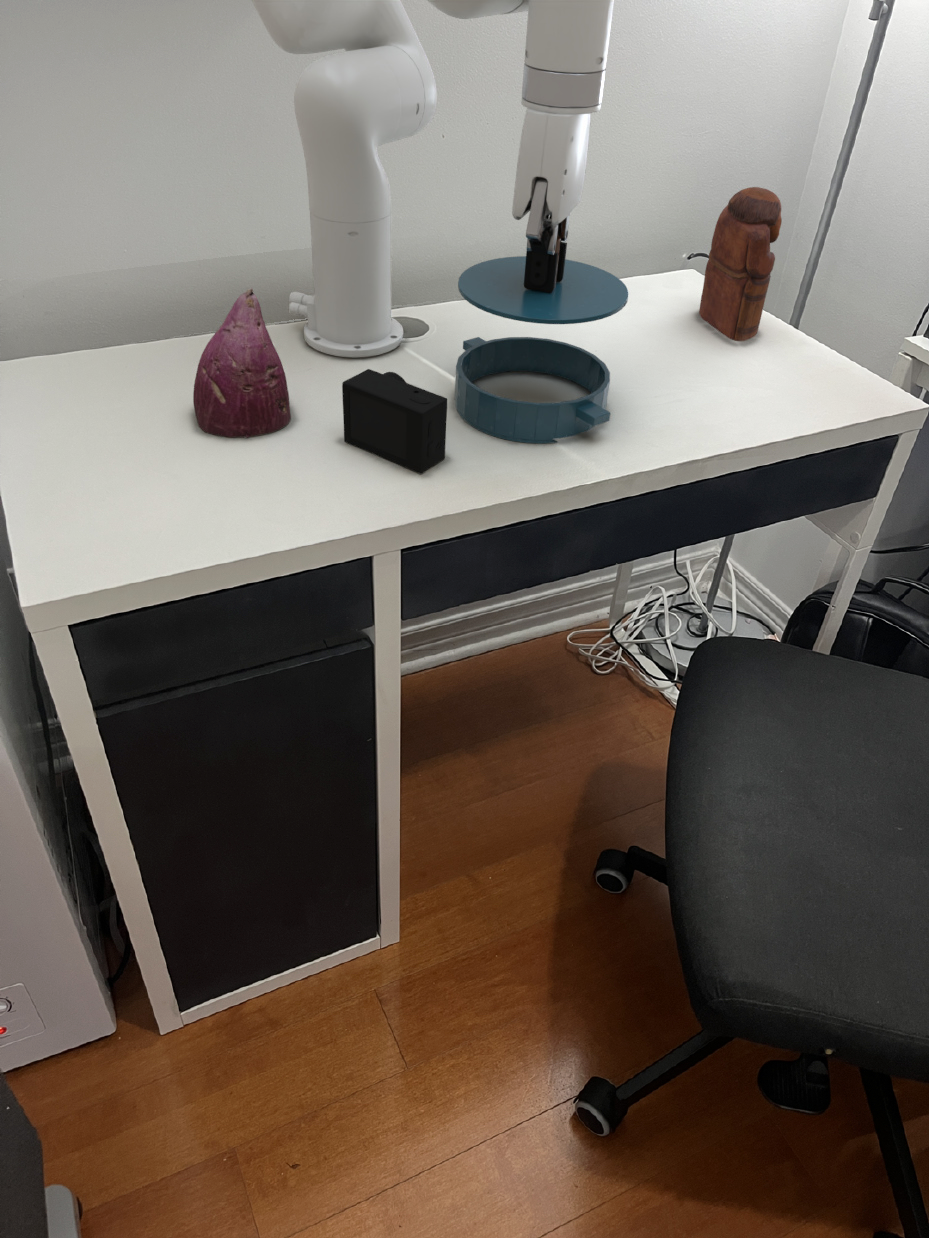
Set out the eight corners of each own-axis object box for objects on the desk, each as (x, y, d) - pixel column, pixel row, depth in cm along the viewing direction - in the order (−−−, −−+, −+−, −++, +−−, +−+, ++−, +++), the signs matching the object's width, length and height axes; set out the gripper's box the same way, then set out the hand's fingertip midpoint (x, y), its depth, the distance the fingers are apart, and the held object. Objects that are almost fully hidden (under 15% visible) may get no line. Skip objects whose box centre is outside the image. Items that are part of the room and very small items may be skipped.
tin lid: (534, 344, 91) (540, 281, 87) (424, 285, 101) (425, 226, 98) (662, 307, 100) (673, 248, 96) (548, 255, 110) (554, 200, 106)
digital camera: (453, 454, 100) (456, 393, 95) (421, 475, 96) (423, 413, 92) (376, 423, 104) (376, 363, 100) (344, 442, 101) (341, 381, 96)
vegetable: (255, 414, 111) (261, 279, 105) (308, 437, 105) (318, 296, 98) (173, 419, 104) (175, 275, 97) (225, 444, 97) (230, 292, 91)
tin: (537, 470, 98) (542, 431, 95) (411, 386, 111) (412, 349, 108) (652, 427, 107) (659, 389, 104) (522, 353, 120) (525, 318, 117)
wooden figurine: (771, 343, 126) (809, 201, 115) (729, 347, 124) (764, 204, 113) (725, 309, 135) (757, 174, 123) (686, 312, 133) (714, 176, 121)
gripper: (548, 69, 95) (531, 255, 107) (496, 100, 83) (484, 305, 95) (621, 78, 93) (596, 266, 105) (579, 110, 81) (556, 318, 93)
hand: (543, 283), depth 100 cm, fingers closed on tin lid, 2 cm apart
